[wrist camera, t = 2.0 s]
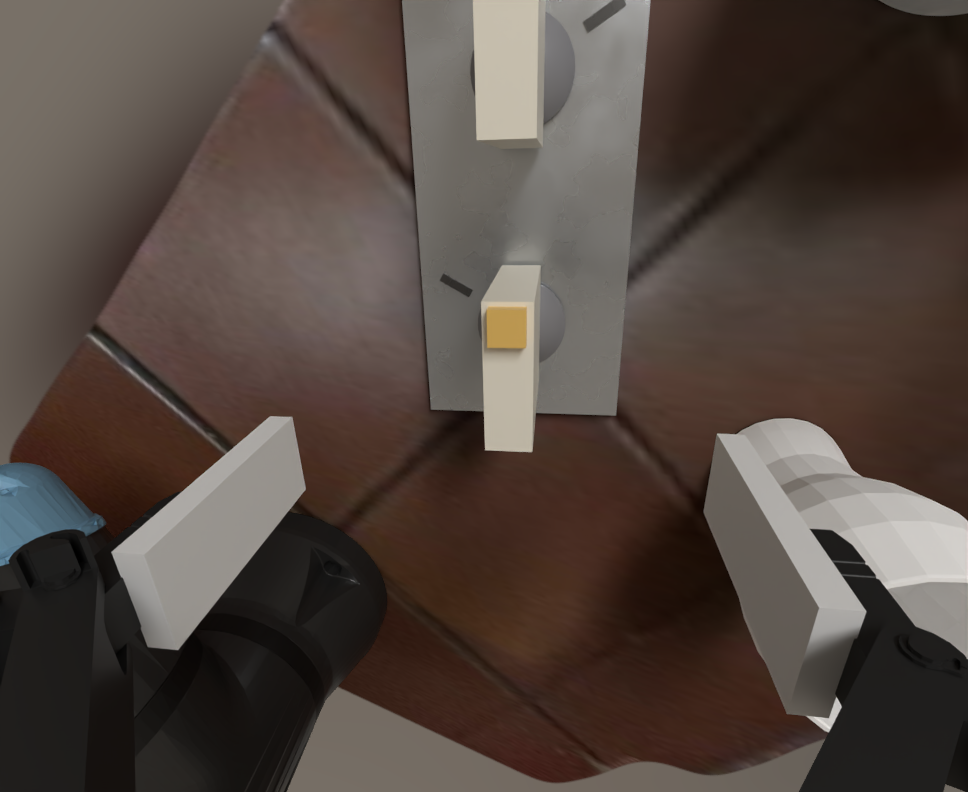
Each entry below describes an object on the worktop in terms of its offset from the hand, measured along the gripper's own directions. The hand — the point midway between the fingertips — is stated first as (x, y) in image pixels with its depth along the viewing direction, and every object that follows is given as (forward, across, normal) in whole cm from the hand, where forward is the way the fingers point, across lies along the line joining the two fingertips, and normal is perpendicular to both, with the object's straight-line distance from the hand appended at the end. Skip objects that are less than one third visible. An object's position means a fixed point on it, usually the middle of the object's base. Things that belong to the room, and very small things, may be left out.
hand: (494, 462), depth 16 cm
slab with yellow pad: (+17, 0, 0) cm, 17 cm away
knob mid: (+17, 0, +13) cm, 21 cm away
